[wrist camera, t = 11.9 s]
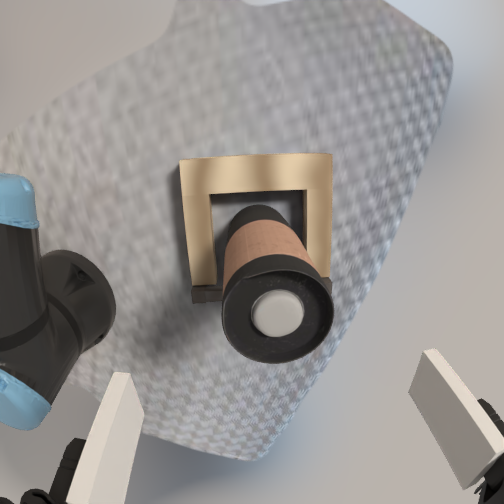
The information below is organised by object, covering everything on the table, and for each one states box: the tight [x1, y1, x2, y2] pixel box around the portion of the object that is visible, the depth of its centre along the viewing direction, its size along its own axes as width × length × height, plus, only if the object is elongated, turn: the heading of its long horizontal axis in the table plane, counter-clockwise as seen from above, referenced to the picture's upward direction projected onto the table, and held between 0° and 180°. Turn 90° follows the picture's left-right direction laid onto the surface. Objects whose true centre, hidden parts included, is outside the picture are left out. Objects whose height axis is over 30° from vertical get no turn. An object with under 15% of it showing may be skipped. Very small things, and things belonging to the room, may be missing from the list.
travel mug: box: [222, 205, 334, 364], centre depth 29 cm, size 8×8×20 cm
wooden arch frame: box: [179, 153, 332, 304], centre depth 36 cm, size 17×17×4 cm
